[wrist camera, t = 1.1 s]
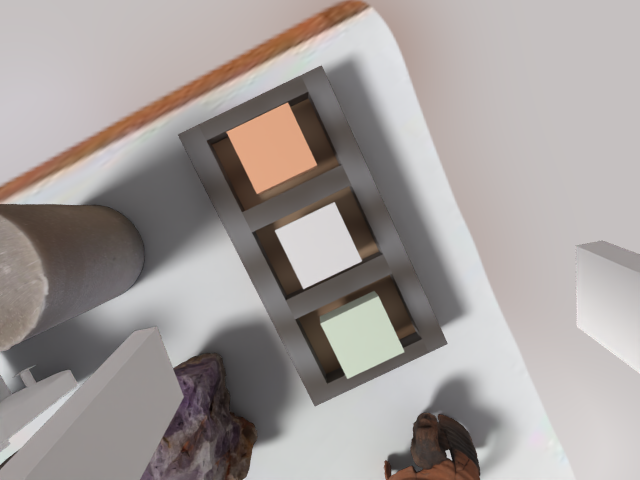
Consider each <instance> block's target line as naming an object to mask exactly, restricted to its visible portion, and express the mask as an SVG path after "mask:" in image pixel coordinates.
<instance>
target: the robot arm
mask: <svg viewBox="0 0 640 480" xmlns="http://www.w3.org/2000/svg"><path fill="white" fill-rule="evenodd" d="M576 290H577V291H576V293H577V327H578V328H580V329H581V330H582V331H583V332H585V333H586V334H588V335H589V336H590V337H592V338H593V339H594V340H596V341H597V342H598V343H600V344H601V345H602V346H604V347H605V348H606V349H608V350H609V351H610V352H612V353H613V354H615V355H616V356H617V357H618V358H620V359H621V360H622V361H624V362H625V363H627V364H628V365H629V366H630V367H632V368H633V369H635V370H636V371H637V372H638V373H640V254H637V253H635V252H632V251H629V250H626V249H623V248H621V247H618V246H616V245H613V244H610V243H608V242H605V241H598V242H593V243H587V244H582V245H577V246H576ZM183 398H184V396H183V393H182V391H181V388H180V385H179V383H178V380H177V378H176V375H175V372H174V370H173V367H172V365H171V362H170V359H169V357H168V354H167V351H166V349H165V346H164V344H163V341H162V338H161V336H160V333H159V331H158V328H157V327H152V328H147V329H142V330H136V331H134V332H133V333H132V334H131V335H130V336H129V337H128V338H127V339H126V340H125V341H124V342H123V343H122V344H121V345H120V346H119V347H118V348H117V349H116V350H115V351H114V353H113V354H112V355H111V356H110V357H109V358H108V359H107V360H106V361H105V362H104V363H103V364H102V365H101V366H100V367H99V368H98V369H97V370H96V371H95V372H94V373H93V374H92V375H91V376H90V377H89V378H88V379H87V380H86V381H85V383H84V384H83V385H82V386H81V387H80V388H79V389H78V390H77V391H76V392H75V393H74V394H73V395H72V396H71V397H70V398H69V399H68V400H67V401H66V402H65V403H64V404H63V405H62V406H61V407H60V408H59V409H58V410H57V411H56V413H55V414H54V415H53V416H52V417H51V418H50V419H49V420H48V421H47V422H46V423H45V424H44V425H43V426H42V427H41V428H40V429H39V430H38V431H37V432H36V433H35V434H34V435H33V436H32V437H31V438H30V439H29V440H28V441H27V443H26V444H25V445H24V446H23V447H22V448H21V449H19V450H18V451H17V452H15V453H14V454H13V455H12V456H10V457H9V458H8V459H6V460H5V461H4V462H3V463H2V464H1V465H0V480H140V479H141V477H142V475H143V473H144V471H145V469H146V467H147V465H148V463H149V462H150V460H151V458H152V456H153V454H154V452H155V450H156V448H157V447H158V445H159V443H160V441H161V439H162V437H163V435H164V433H165V431H166V430H167V428H168V426H169V424H170V422H171V420H172V418H173V416H174V415H175V413H176V411H177V409H178V407H179V405H180V403H181V401H182V399H183Z"/></svg>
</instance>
